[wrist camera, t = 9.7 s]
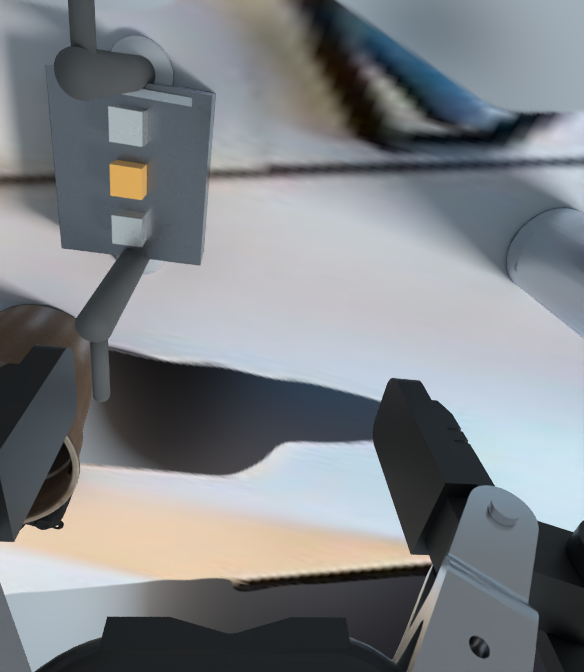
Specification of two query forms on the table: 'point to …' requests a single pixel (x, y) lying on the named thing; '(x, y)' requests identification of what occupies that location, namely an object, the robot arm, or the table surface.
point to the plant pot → (59, 330)
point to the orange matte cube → (128, 179)
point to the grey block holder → (140, 147)
